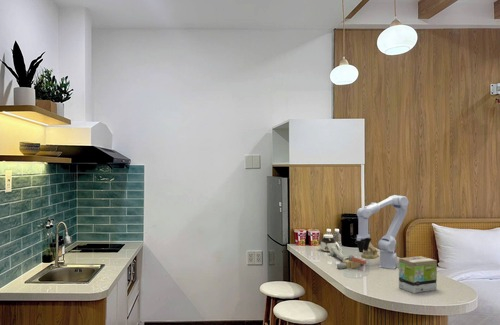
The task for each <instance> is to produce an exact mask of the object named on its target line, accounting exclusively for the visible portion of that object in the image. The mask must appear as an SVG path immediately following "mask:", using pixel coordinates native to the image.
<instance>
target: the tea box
mask: <svg viewBox="0 0 500 325" xmlns="http://www.w3.org/2000/svg"><path fill="white" fill-rule="evenodd" d="M398 259H399V263H398V288H399V289H402V290H404V291H407V292H408V293H409V292H410V293H411V294H416V293H421V292H422V293H423V292H430V290H431V291H436V290H437V281H438V280H437V276H438V275H437V274H438V273H437V270H438V261H437V259H432V258H429V257H426V256H423V255H420V256H410V257H400V258H398Z"/></svg>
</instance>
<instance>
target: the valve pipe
mask: <svg viewBox="0 0 500 325" xmlns="http://www.w3.org/2000/svg"><path fill="white" fill-rule="evenodd" d="M341 261H342V260H341ZM365 265H366V264H361V263H358V262H354V261H349V259H348V260H344V261H342V262H341V263H337V265H336V268H337V269H338V270H342V269H347V270H349V269H350V270H352V269H357V268H360V267H361V266H365Z"/></svg>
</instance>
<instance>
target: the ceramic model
mask: <svg viewBox="0 0 500 325" xmlns="http://www.w3.org/2000/svg"><path fill="white" fill-rule="evenodd" d="M378 252H379V251H378V249H376V248H375V246H374V245H373V244H372V242H371V241H370V243H369V247H368V251H366V250H363V253H362V252H361V258H363V259H376V258H378V257H380V254H378Z"/></svg>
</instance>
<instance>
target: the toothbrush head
mask: <svg viewBox="0 0 500 325" xmlns="http://www.w3.org/2000/svg"><path fill="white" fill-rule="evenodd" d="M329 255H330V257H334V258H335V257H338V258H339V259H340V260H341V261H344V260H348V259H349V256H347V255H346V254H344V253H342V252H341V250H340V251H338V250H337V248H336V247H331V250H330V253H329Z"/></svg>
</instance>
